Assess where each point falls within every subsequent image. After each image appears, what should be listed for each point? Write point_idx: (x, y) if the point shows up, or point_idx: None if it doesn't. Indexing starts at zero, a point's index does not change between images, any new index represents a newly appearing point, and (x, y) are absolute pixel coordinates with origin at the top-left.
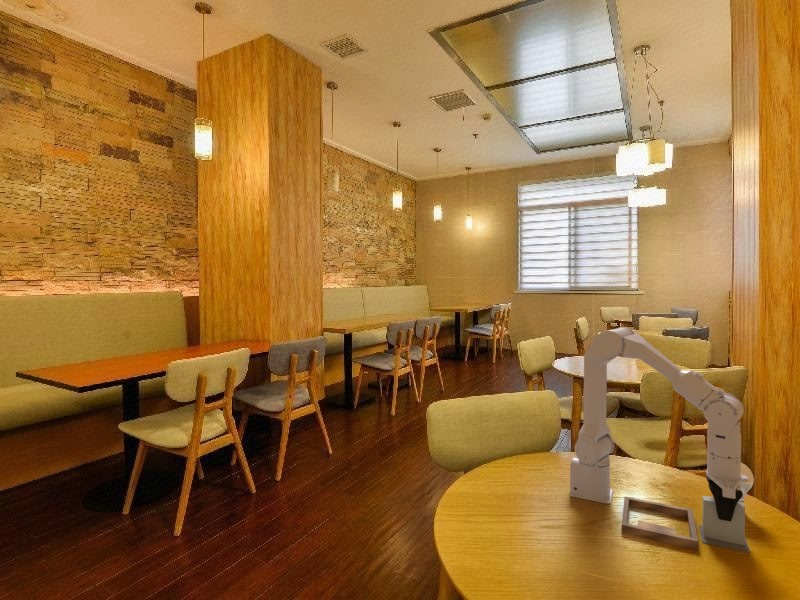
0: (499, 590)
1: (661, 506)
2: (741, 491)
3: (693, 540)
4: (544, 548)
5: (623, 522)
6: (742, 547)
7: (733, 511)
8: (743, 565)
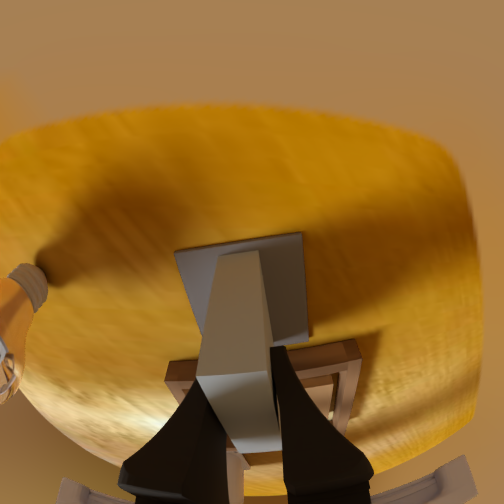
0: (471, 413)
1: None
2: (316, 484)
3: (360, 365)
4: (408, 436)
5: None
6: (278, 255)
7: (300, 382)
8: (380, 248)
